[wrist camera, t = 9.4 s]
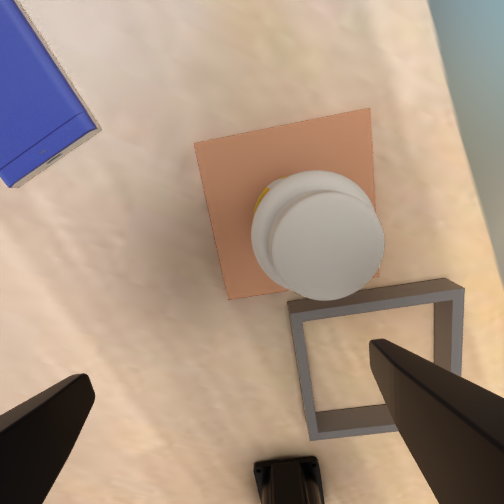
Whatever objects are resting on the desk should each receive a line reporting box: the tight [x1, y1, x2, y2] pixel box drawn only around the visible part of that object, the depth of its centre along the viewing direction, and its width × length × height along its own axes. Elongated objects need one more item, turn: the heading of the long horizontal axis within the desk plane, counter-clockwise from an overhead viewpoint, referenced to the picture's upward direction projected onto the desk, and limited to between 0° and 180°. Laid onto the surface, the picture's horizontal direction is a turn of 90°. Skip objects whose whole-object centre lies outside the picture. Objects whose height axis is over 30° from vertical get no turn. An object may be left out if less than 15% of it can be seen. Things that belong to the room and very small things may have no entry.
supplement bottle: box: [251, 170, 385, 301], centre depth 14 cm, size 6×6×10 cm
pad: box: [194, 108, 379, 300], centre depth 19 cm, size 12×12×1 cm
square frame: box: [288, 278, 465, 441], centre depth 21 cm, size 13×13×2 cm
